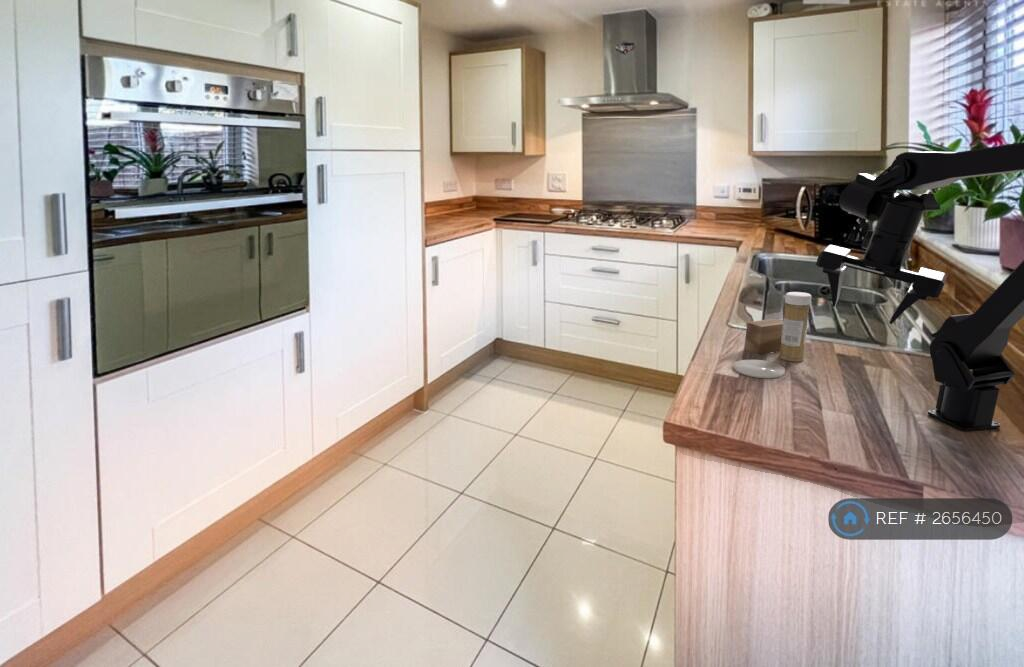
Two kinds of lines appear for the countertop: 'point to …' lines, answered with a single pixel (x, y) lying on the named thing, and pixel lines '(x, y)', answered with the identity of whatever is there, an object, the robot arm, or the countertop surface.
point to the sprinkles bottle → (794, 326)
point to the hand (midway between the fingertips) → (861, 314)
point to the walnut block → (764, 336)
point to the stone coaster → (759, 368)
